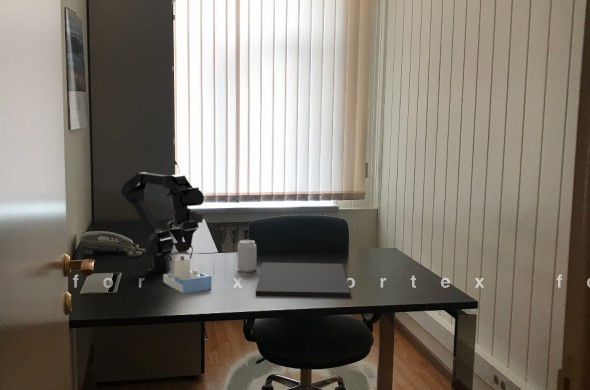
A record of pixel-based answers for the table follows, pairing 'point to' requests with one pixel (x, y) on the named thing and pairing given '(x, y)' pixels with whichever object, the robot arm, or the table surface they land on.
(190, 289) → the sled frame
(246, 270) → the can
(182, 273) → the beige drawer with knob
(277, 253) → the table surface
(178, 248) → the sunglasses
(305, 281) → the thin dark grey tray
